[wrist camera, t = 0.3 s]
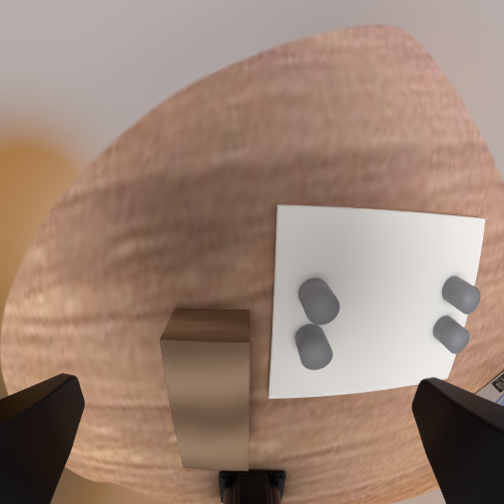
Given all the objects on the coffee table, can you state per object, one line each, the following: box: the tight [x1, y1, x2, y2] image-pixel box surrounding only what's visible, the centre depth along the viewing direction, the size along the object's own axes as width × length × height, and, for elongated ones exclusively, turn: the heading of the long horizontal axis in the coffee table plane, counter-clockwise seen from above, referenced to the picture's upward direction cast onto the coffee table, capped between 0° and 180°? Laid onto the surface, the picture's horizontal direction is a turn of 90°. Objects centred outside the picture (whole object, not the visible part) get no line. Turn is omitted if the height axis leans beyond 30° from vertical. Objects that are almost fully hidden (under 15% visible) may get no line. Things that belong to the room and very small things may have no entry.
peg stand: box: [268, 204, 485, 399], centre depth 19 cm, size 14×16×3 cm
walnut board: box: [160, 309, 250, 471], centre depth 20 cm, size 12×5×4 cm, turn 179°
